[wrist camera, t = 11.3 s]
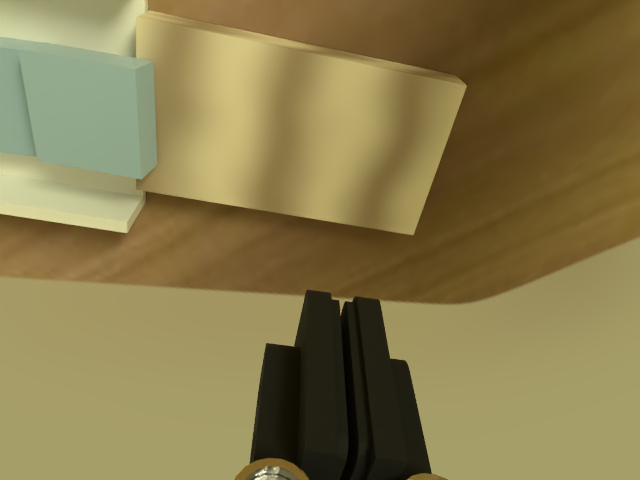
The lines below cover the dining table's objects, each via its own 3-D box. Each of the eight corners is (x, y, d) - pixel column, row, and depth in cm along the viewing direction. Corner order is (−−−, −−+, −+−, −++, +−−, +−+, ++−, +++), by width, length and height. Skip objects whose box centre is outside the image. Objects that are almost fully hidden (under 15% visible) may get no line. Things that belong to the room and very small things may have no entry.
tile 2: (153, 61, 26) (135, 69, 24) (157, 164, 29) (141, 179, 27) (44, 42, 26) (17, 48, 24) (59, 147, 29) (37, 160, 27)
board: (455, 74, 29) (466, 85, 27) (406, 216, 34) (413, 235, 32) (149, 10, 27) (136, 16, 25) (147, 173, 32) (136, 189, 30)
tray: (148, -37, 26) (124, -33, 22) (145, 202, 33) (127, 233, 30) (-94, -91, 24) (-159, -95, 21) (-39, 173, 32) (-80, 201, 28)
